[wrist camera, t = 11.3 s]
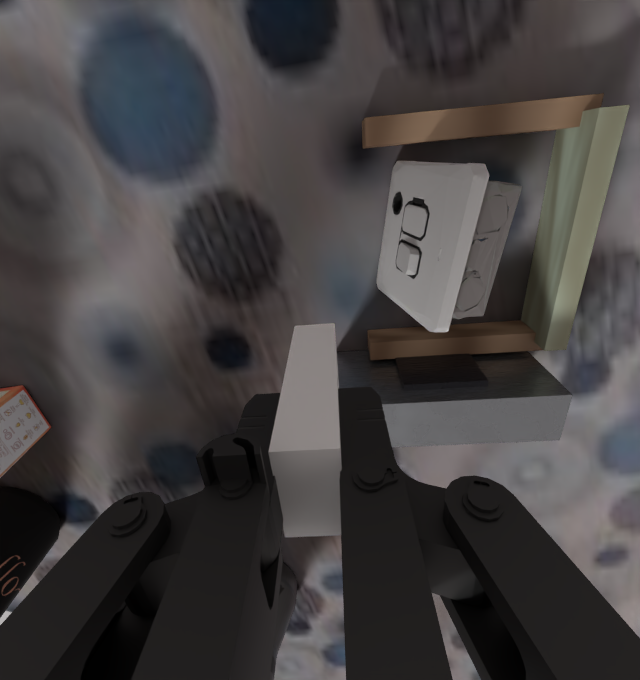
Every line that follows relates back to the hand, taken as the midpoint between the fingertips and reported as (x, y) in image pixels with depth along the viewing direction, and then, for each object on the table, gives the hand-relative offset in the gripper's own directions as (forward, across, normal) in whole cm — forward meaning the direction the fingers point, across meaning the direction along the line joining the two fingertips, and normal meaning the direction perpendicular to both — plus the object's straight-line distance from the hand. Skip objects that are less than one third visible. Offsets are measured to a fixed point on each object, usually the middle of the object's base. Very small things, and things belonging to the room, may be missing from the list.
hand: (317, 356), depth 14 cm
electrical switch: (+16, +8, +2) cm, 18 cm away
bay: (+16, +10, +1) cm, 19 cm away
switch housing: (+16, +8, -10) cm, 21 cm away
